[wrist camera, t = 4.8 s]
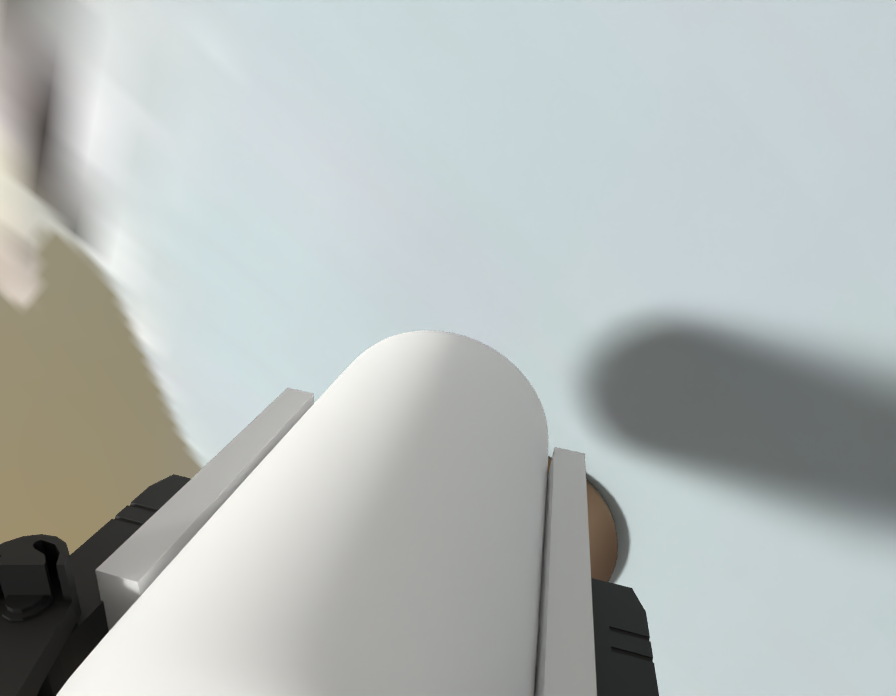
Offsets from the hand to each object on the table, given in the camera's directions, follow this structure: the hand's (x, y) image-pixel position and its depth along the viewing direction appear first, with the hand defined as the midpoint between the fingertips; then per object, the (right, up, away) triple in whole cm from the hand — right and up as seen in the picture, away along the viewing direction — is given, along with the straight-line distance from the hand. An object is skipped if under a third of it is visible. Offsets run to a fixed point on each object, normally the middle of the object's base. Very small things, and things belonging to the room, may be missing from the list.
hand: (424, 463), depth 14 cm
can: (0, +1, +2) cm, 2 cm away
